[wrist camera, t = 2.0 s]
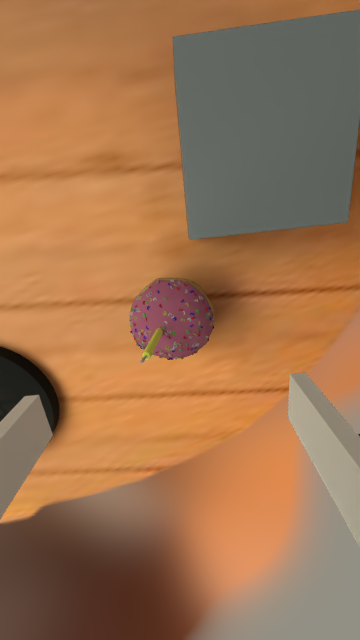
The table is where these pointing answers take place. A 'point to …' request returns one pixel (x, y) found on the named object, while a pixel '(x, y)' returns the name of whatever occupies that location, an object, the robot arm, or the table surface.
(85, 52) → the table surface
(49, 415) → the wireless charger
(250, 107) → the plinth
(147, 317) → the cupcake
